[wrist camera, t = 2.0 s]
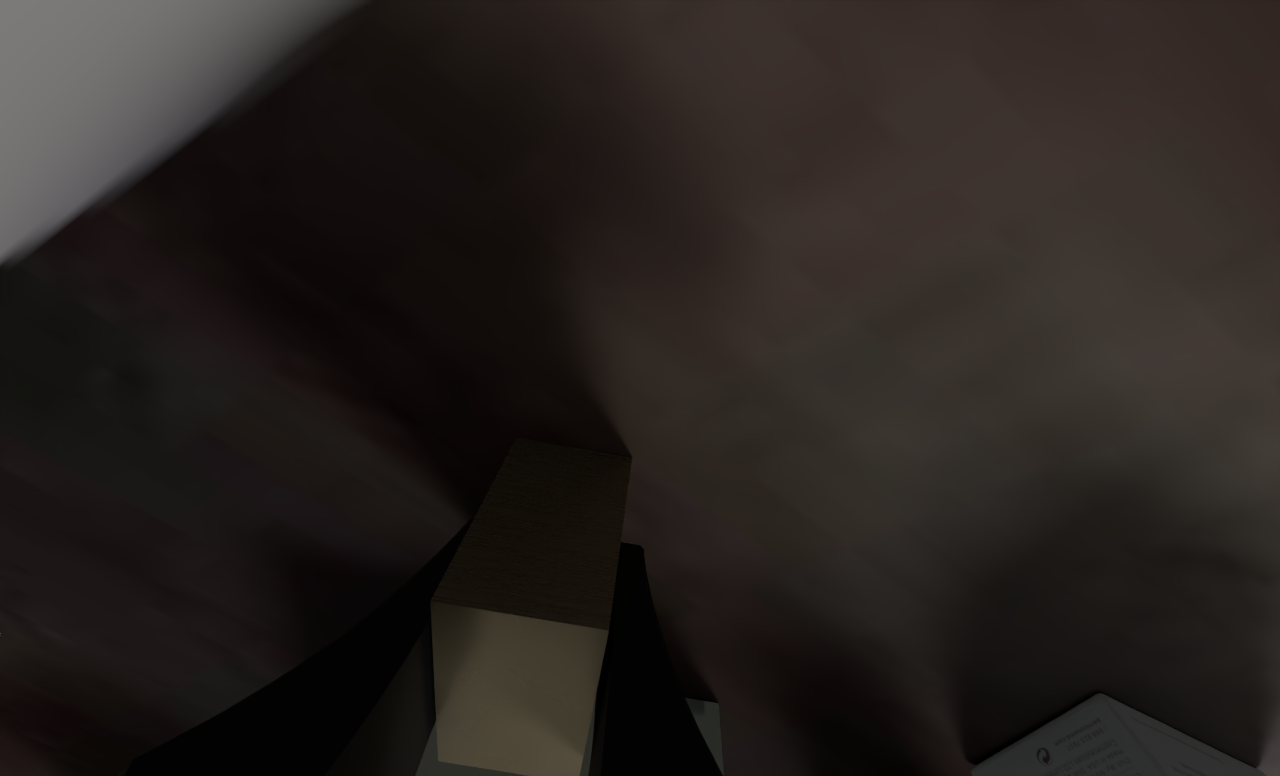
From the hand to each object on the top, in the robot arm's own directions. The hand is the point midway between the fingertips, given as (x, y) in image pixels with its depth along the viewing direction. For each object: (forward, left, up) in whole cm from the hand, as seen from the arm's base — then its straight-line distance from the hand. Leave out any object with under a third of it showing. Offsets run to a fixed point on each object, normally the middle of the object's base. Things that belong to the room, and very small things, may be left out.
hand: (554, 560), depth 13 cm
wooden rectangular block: (0, 0, -1) cm, 1 cm away
